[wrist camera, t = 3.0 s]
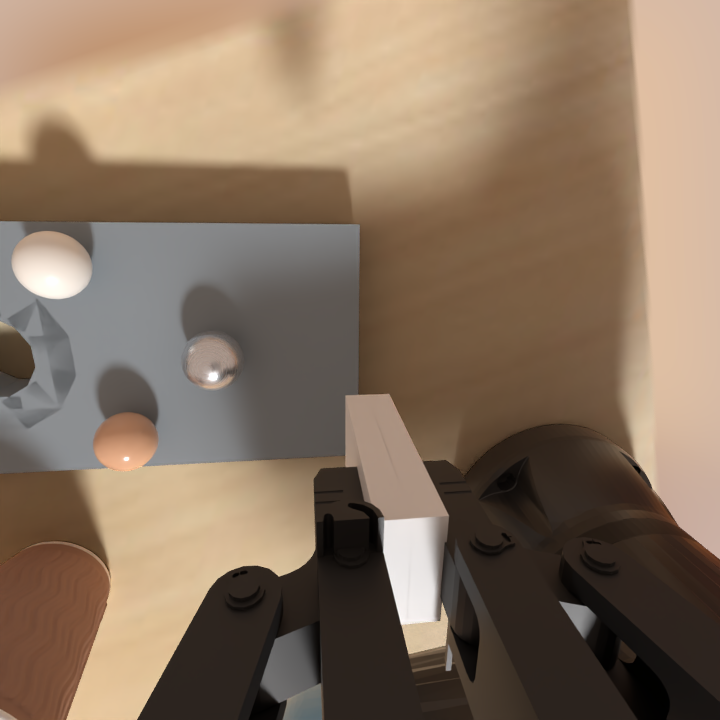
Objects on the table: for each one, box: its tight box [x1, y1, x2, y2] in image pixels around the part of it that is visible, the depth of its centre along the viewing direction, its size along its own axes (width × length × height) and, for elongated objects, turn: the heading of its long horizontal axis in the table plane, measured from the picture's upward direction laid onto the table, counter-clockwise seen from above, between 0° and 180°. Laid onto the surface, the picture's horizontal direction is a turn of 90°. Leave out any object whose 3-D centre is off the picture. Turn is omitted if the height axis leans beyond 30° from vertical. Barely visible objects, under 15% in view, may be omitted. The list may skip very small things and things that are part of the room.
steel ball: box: [181, 331, 244, 391], centre depth 24 cm, size 3×3×3 cm
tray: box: [0, 221, 360, 474], centre depth 25 cm, size 26×14×4 cm, turn 89°
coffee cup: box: [0, 541, 111, 720], centre depth 26 cm, size 10×10×12 cm
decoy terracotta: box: [93, 412, 159, 471], centre depth 24 cm, size 3×3×3 cm
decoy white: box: [11, 231, 93, 299], centre depth 21 cm, size 3×3×3 cm
